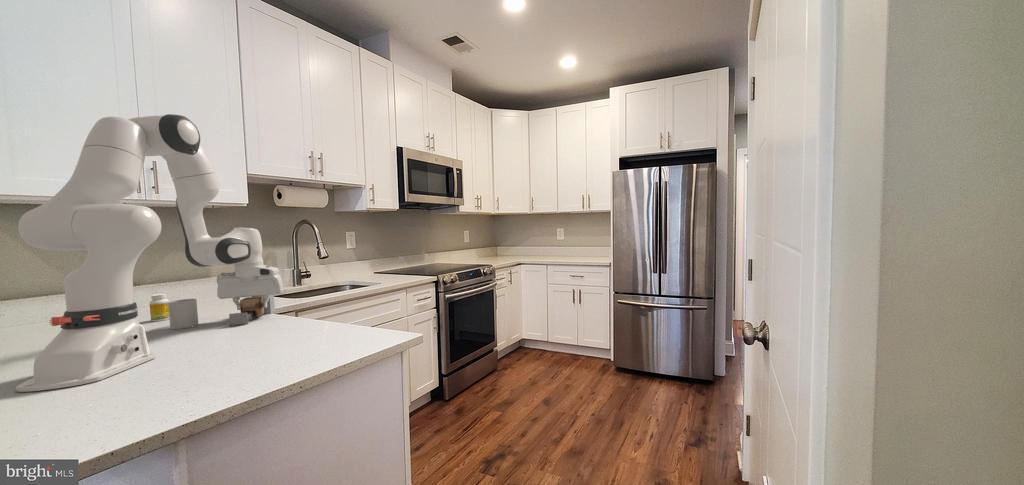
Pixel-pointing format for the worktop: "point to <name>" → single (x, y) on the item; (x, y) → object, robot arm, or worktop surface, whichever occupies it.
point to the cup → (183, 313)
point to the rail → (241, 317)
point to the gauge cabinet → (269, 305)
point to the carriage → (252, 305)
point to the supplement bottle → (159, 308)
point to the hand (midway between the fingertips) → (252, 308)
